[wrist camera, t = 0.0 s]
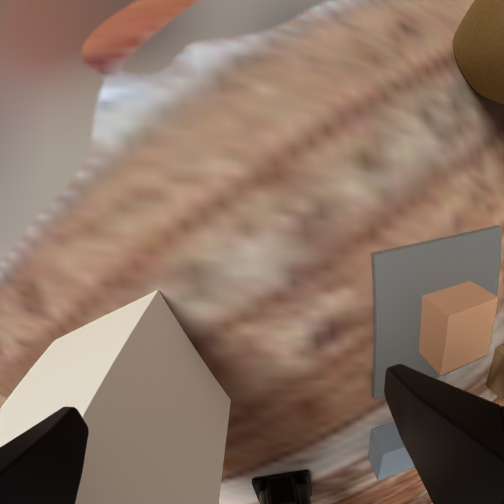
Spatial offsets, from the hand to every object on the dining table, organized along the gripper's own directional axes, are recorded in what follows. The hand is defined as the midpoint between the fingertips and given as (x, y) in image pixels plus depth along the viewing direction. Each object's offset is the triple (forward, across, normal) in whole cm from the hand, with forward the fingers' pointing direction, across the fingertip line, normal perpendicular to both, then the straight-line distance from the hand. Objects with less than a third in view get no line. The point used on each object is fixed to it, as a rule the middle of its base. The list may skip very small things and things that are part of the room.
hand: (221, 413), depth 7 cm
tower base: (+15, -17, +8) cm, 24 cm away
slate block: (+15, -13, +23) cm, 31 cm away
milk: (+15, +10, +8) cm, 20 cm away
